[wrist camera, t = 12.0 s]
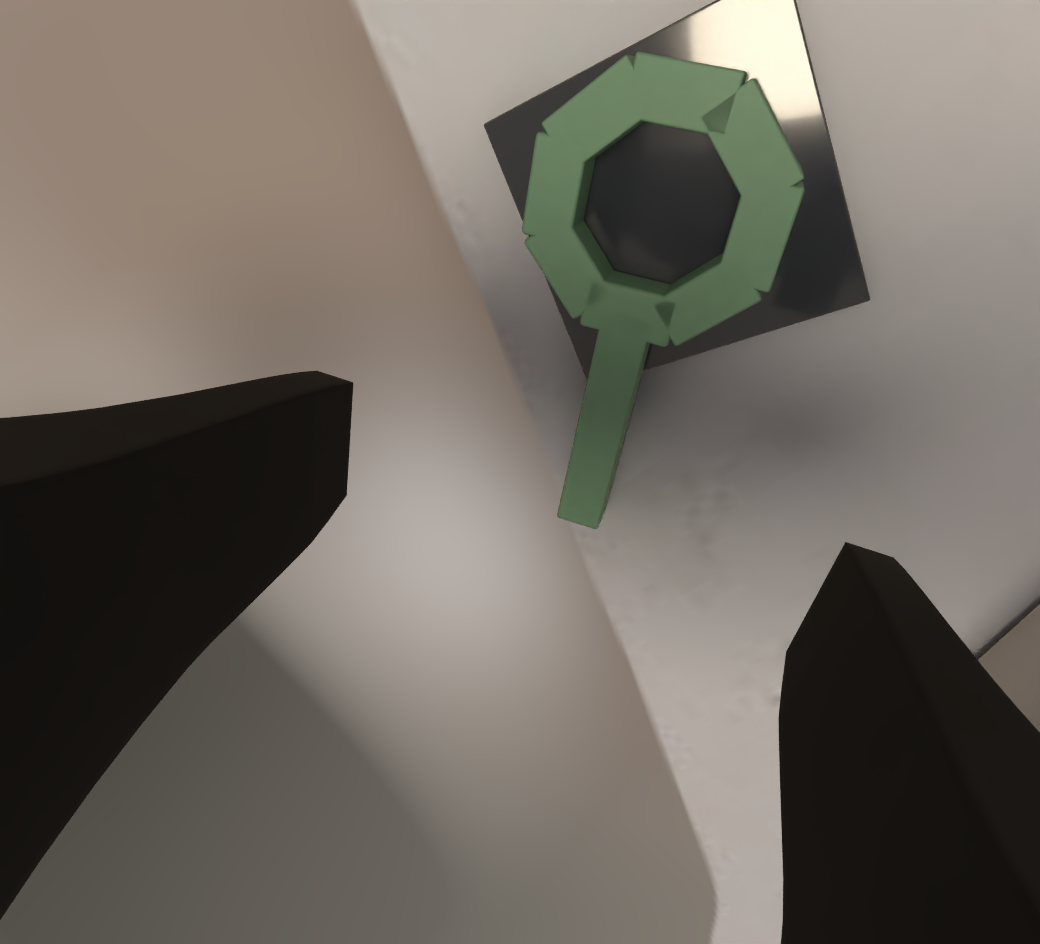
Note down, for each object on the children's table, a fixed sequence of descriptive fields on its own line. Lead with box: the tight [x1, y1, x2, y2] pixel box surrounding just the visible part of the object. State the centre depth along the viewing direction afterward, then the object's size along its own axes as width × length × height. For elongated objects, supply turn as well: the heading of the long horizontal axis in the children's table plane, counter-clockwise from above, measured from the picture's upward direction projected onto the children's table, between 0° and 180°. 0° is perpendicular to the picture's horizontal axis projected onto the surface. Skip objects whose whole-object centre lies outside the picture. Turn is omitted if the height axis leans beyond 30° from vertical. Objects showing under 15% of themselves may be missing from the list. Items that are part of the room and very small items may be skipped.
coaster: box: [484, 0, 870, 380], centre depth 17 cm, size 7×7×1 cm
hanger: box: [522, 52, 805, 529], centre depth 17 cm, size 11×6×1 cm, turn 171°
